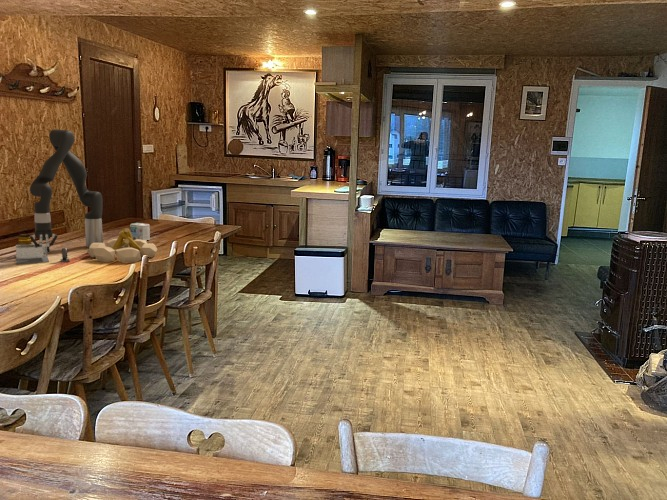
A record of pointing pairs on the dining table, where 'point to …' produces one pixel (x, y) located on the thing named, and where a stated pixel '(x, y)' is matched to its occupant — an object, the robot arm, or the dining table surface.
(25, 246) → the c link
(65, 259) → the peg stand
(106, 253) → the campfire
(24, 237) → the condiment
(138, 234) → the light bulb box
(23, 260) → the mat
